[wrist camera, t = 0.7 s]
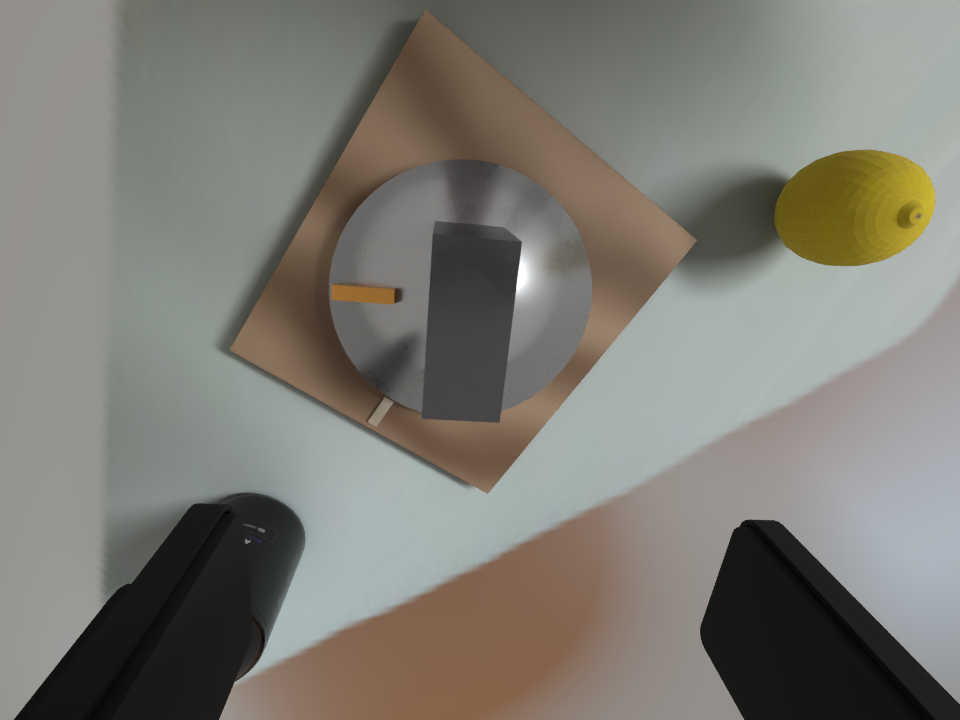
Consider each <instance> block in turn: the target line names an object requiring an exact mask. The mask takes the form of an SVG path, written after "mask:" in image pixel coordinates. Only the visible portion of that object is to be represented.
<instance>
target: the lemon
mask: <svg viewBox="0 0 960 720" xmlns="http://www.w3.org/2000/svg"><path fill="white" fill-rule="evenodd" d="M934 206H935V191H934V188H933V185H932V182H931V179H930V178H929V176H928V175H927V174H926V172H925V171H924V170H923V169H922V168H921V167H920V166H919V165H917V164H915V163H914V162H912V161H910V160H909V159H907V158H905V157H902V156H899V155H896V154H891V153H887V152H882V151H877V150H855V151H844V152H839V153H835V154H832V155H829V156H826V157H824V158H821V159H818V160H816V161H814V162H812V163H811V164H809V165H808V166H806V167H805V168H803V169H801V170H800V171H799V172H798V173H796V174H795V175H794V176H793V177H792V178H791V179H790V180H789V181H788V182H787V184H786V185H785V187H784V188H783V190H782V191H781V193H780V195H779V198H778V200H777V202H776V207H775V212H774V219H775V226H776V229H777V233H778V235H779V237H780V238H781V240H782V241H783V243H784V244H785V245H786V247H788V248H789V249H790V250H792V251H793V252H794V253H796V254H797V255H798V256H800V257H802V258H805V259H807V260H810V261H813V262H816V263H819V264H824V265H833V266H859V265H865V264H870V263H874V262H879V261H882V260H885V259H887V258H889V257H891V256H893V255H896V254H898V253H900V252H901V251H903V250H904V249H905V248H907V247H908V246H910V245H911V244H912V243H913V242H914V241H915V240H916V239H917V238H918V237H919V236H920V235H921V234H922V233H923V231H924V230H925V228H926V227H927V225H928V224H929V221H930V219H931V217H932V214H933V211H934Z"/></svg>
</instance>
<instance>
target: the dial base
mask: <svg viewBox="0 0 960 720" xmlns="http://www.w3.org/2000/svg"><path fill="white" fill-rule="evenodd" d="M453 159H465V160H479V161H484V162H490V163H495V164H498V165H501V166H504V167H507V168H510V169H512V170H514V171H516V172H518V173H520V174H523V175H525V176H527V177H528V178H530V179H531V180H533V181H534V182H536V183H537V184H539V185H540V186H542V187H543V188H544V189H545V190H546V191H548V192H549V193H550V194H551V195H552V196H553V197H554V198H555V199H556V200H557V201H558V202H559V203H560V204H561V206H562V207H563V208H564V209H565V211H566V212H567V213H568V214H569V216H570V218H571V219H572V221H573V222H574V224H575V226H576V227H577V229H578V231H579V233H580V236H581V238H582V240H583V242H584V245H585V248H586V252H587V255H588V259H589V263H590V270H591V276H592V299H591V307H590V313H589V317H588V321H587V325H586V328H585V331H584V334H583V336H582V339H581V341H580V343H579V345H578V347H577V349H576V351H575V353H574V354H573V356H572V358H571V359H570V360H569V362H568V363H567V365H566V366H565V367H564V369H563V370H562V371H561V372H560V373H559V374H558V375H557V376H556V378H555V379H554V380H553V381H552V382H550V383H549V384H548V385H547V386H546V387H545V388H544V389H542V390H541V391H540V392H538V393H537V394H535V395H534V396H532V397H531V398H529V399H528V400H526V401H524V402H522V403H520V404H518V405H516V406H514V407H512V408H509V409H506V410H504V411H501V416H500V423H492V422H473V421H453V420H434V419H422V412H419V411H416V410H414V409H411V408H408V407H406V406H404V405H402V404H400V403H398V402H396V401H394V400H392V399H391V398H389V397H388V396H386V395H385V394H383V393H382V392H380V391H379V390H378V389H377V388H376V387H374V386H373V385H372V384H371V383H370V382H369V381H367V379H366V378H365V377H364V376H363V375H362V374H361V373H360V372H359V371H358V370H357V368H356V367H355V366H354V364H353V363H352V361H351V360H350V358H349V357H348V355H347V354H346V352H345V350H344V348H343V346H342V344H341V342H340V340H339V337H338V335H337V332H336V329H335V326H334V323H333V319H332V314H331V310H330V300H329V277H330V269H331V264H332V259H333V255H334V252H335V249H336V246H337V243H338V240H339V238H340V236H341V234H342V232H343V230H344V228H345V226H346V224H347V222H348V221H349V220H350V218H351V217H352V215H353V214H354V212H355V211H356V210H357V208H358V207H359V206H360V205H361V204H362V203H363V202H364V201H365V200H366V199H367V197H368V196H369V195H370V194H371V193H373V192H374V191H375V190H376V189H378V188H379V187H380V186H381V185H383V184H384V183H385V182H387V181H389V180H390V179H392V178H394V177H395V176H397V175H399V174H401V173H403V172H405V171H408V170H410V169H412V168H415V167H417V166H420V165H424V164H428V163H432V162H436V161H444V160H453ZM696 241H697V239H695V238H694V237H693V236H692V235H691V234H690V233H688V232H687V231H686V230H685V229H684V228H682V227H681V226H680V225H679V224H678V223H677V222H675V221H674V220H673V219H672V218H671V217H669V216H668V215H667V214H666V213H665V212H664V211H662V210H661V209H660V208H659V207H658V206H657V205H655V204H654V203H653V202H652V201H651V200H649V199H648V198H647V197H646V196H645V195H644V194H642V193H641V192H640V191H639V190H638V189H636V188H635V187H634V186H633V185H632V184H631V183H629V182H628V181H627V180H626V179H625V178H624V177H622V176H621V175H620V174H619V173H618V172H616V171H615V170H614V169H613V168H612V167H611V166H609V165H608V164H607V163H606V162H605V161H603V160H602V159H601V158H600V157H599V156H598V155H596V154H595V153H594V152H593V151H592V150H591V149H589V148H588V147H587V146H586V145H585V144H583V143H582V142H581V141H580V140H579V139H578V138H576V137H575V136H574V135H573V134H572V133H570V132H569V131H568V130H567V129H566V128H565V127H563V126H562V125H561V124H560V123H559V122H558V121H556V120H555V119H554V118H553V117H552V116H550V115H549V114H548V113H547V112H546V111H545V110H543V109H542V108H541V107H540V106H539V105H537V104H536V103H535V102H534V101H533V100H532V99H530V98H529V97H528V96H527V95H526V94H524V93H523V92H522V91H521V90H520V89H519V88H517V87H516V86H515V85H514V84H513V83H512V82H510V81H509V80H508V79H507V78H506V77H504V76H503V75H502V74H501V73H500V72H499V71H497V70H496V69H495V68H494V67H493V66H491V65H490V64H489V63H488V62H487V61H486V60H484V59H483V58H482V57H481V56H480V55H479V54H477V53H476V52H475V51H474V50H473V49H471V48H470V47H469V46H468V45H467V44H466V43H464V42H463V41H462V40H461V39H460V38H458V37H457V36H456V35H455V34H454V33H453V32H451V31H450V30H449V29H448V28H447V27H446V26H444V25H443V24H442V23H441V22H440V21H438V20H437V19H436V18H435V17H434V16H433V15H431V14H430V13H429V12H428V11H427V10H424V12H423V14H422V16H421V17H420V19H419V21H418V23H417V24H416V26H415V28H414V30H413V31H412V33H411V35H410V37H409V38H408V40H407V42H406V43H405V45H404V47H403V49H402V50H401V52H400V54H399V56H398V57H397V59H396V61H395V63H394V64H393V66H392V68H391V70H390V71H389V73H388V75H387V77H386V78H385V80H384V82H383V84H382V85H381V87H380V89H379V91H378V92H377V94H376V96H375V97H374V99H373V101H372V103H371V104H370V106H369V108H368V110H367V111H366V113H365V115H364V117H363V118H362V120H361V122H360V124H359V125H358V127H357V129H356V131H355V132H354V134H353V136H352V138H351V139H350V141H349V143H348V144H347V146H346V148H345V150H344V151H343V153H342V155H341V157H340V158H339V160H338V162H337V164H336V165H335V167H334V169H333V171H332V172H331V174H330V176H329V178H328V179H327V181H326V183H325V185H324V186H323V188H322V190H321V191H320V193H319V195H318V197H317V198H316V200H315V202H314V204H313V205H312V207H311V209H310V211H309V212H308V214H307V216H306V218H305V219H304V221H303V223H302V225H301V226H300V228H299V230H298V232H297V233H296V235H295V237H294V238H293V240H292V242H291V244H290V245H289V247H288V249H287V251H286V252H285V254H284V256H283V258H282V259H281V261H280V263H279V265H278V266H277V268H276V270H275V272H274V273H273V275H272V277H271V279H270V280H269V282H268V284H267V286H266V287H265V289H264V291H263V292H262V294H261V296H260V298H259V299H258V301H257V303H256V305H255V306H254V308H253V310H252V312H251V313H250V315H249V317H248V319H247V320H246V322H245V324H244V326H243V327H242V329H241V331H240V333H239V334H238V336H237V338H236V339H235V341H234V343H233V345H232V346H231V348H230V351H232V352H233V353H235V354H237V355H239V356H241V357H242V358H244V359H246V360H248V361H250V362H251V363H253V364H255V365H257V366H259V367H260V368H262V369H264V370H266V371H268V372H269V373H271V374H273V375H275V376H277V377H278V378H280V379H282V380H284V381H286V382H287V383H289V384H291V385H293V386H295V387H296V388H298V389H300V390H302V391H304V392H305V393H307V394H309V395H311V396H313V397H314V398H316V399H318V400H320V401H322V402H323V403H325V404H327V405H329V406H331V407H332V408H334V409H336V410H338V411H340V412H341V413H343V414H345V415H347V416H349V417H350V418H352V419H354V420H356V421H358V422H359V423H361V424H363V425H365V426H367V427H368V428H370V429H372V430H374V431H376V432H377V433H379V434H381V435H383V436H385V437H386V438H388V439H390V440H392V441H394V442H395V443H397V444H399V445H401V446H403V447H404V448H406V449H408V450H410V451H412V452H413V453H415V454H417V455H419V456H421V457H422V458H424V459H426V460H428V461H430V462H431V463H433V464H435V465H437V466H439V467H440V468H442V469H444V470H446V471H448V472H449V473H451V474H453V475H455V476H457V477H458V478H460V479H462V480H464V481H466V482H467V483H469V484H471V485H473V486H475V487H476V488H478V489H480V490H482V491H484V492H485V493H487V494H488V493H489V492H490V490H491V489H492V488H493V487H494V486H495V484H496V483H497V482H498V481H499V480H500V478H501V477H502V476H503V475H504V473H505V472H506V471H507V470H508V469H509V467H510V466H511V465H512V464H513V463H514V461H515V460H516V459H517V458H518V457H519V455H520V454H521V453H522V452H523V451H524V449H525V448H526V447H527V446H528V444H529V443H530V442H531V441H532V440H533V438H534V437H535V436H536V435H537V434H538V432H539V431H540V430H541V429H542V428H543V426H544V425H545V424H546V423H547V422H548V420H549V419H550V418H551V417H552V415H553V414H554V413H555V412H556V411H557V409H558V408H559V407H560V406H561V405H562V403H563V402H564V401H565V400H566V399H567V397H568V396H569V395H570V394H571V392H572V391H573V390H574V389H575V388H576V386H577V385H578V384H579V383H580V382H581V380H582V379H583V378H584V377H585V376H586V374H587V373H588V372H589V371H590V370H591V368H592V367H593V366H594V365H595V363H596V362H597V361H598V360H599V359H600V357H601V356H602V355H603V354H604V353H605V351H606V350H607V349H608V348H609V347H610V345H611V344H612V343H613V342H614V341H615V339H616V338H617V337H618V336H619V334H620V333H621V332H622V331H623V330H624V328H625V327H626V326H627V325H628V324H629V322H630V321H631V320H632V319H633V318H634V316H635V315H636V314H637V313H638V311H639V310H640V309H641V308H642V307H643V305H644V304H645V303H646V302H647V301H648V299H649V298H650V297H651V296H652V295H653V293H654V292H655V291H656V290H657V289H658V287H659V286H660V285H661V284H662V282H663V281H664V280H665V279H666V278H667V276H668V275H669V274H670V273H671V272H672V270H673V269H674V268H675V267H676V266H677V264H678V263H679V262H680V261H681V259H682V258H683V257H684V256H685V255H686V253H687V252H688V251H689V250H690V249H691V247H692V246H693V245H694V244H695V243H696Z"/></svg>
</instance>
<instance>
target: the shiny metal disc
mask: <svg viewBox="0 0 960 720" xmlns="http://www.w3.org/2000/svg"><path fill="white" fill-rule="evenodd" d="M591 299H592V276H591V270H590V263H589V259H588V255H587V252H586V248H585V245H584V242H583V240H582V238H581V236H580V233H579V231H578V229H577V227H576V226H575V224H574V222H573V221H572V219H571V218H570V216H569V214H568V213H567V212H566V211H565V209H564V208H563V207H562V206H561V204H560V203H559V202H558V201H557V200H556V199H555V198H554V197H553V196H552V195H551V194H550V193H549V192H548V191H546V190H545V189H544V188H543V187H542V186H540V185H539V184H537V183H536V182H534V181H533V180H531V179H530V178H528V177H527V176H525V175H523V174H520V173H518V172H516V171H514V170H512V169H510V168H507V167H504V166H501V165H498V164H495V163H490V162H484V161H479V160H465V159H453V160H444V161H436V162H432V163H428V164H424V165H420V166H417V167H415V168H412V169H410V170H408V171H405V172H403V173H401V174H399V175H397V176H395V177H394V178H392V179H390V180H389V181H387V182H385V183H384V184H383V185H381V186H380V187H379V188H378V189H376V190H375V191H374V192H373V193H371V194H370V195H369V196H368V197H367V199H366V200H365V201H364V202H363V203H362V204H361V205H360V206H359V207H358V208H357V210H356V211H355V212H354V214H353V215H352V217H351V218H350V220H349V221H348V222H347V224H346V226H345V228H344V230H343V232H342V234H341V236H340V238H339V240H338V243H337V246H336V249H335V252H334V255H333V259H332V264H331V269H330V277H329V300H330V310H331V314H332V319H333V323H334V326H335V329H336V332H337V335H338V337H339V340H340V342H341V344H342V346H343V348H344V350H345V352H346V354H347V355H348V357H349V358H350V360H351V361H352V363H353V364H354V366H355V367H356V368H357V370H358V371H359V372H360V373H361V374H362V375H363V376H364V377H365V378H366V379H367V381H369V382H370V383H371V384H372V385H373V386H374V387H376V388H377V389H378V390H379V391H380V392H382V393H383V394H385V395H386V396H388V397H389V398H391V399H392V400H394V401H396V402H398V403H400V404H402V405H404V406H406V407H408V408H411V409H414V410H416V411H419V412H422V419H434V420H453V421H473V422H492V423H500V416H501V411H504V410H506V409H509V408H512V407H514V406H516V405H518V404H520V403H522V402H524V401H526V400H528V399H529V398H531V397H532V396H534V395H535V394H537V393H538V392H540V391H541V390H542V389H544V388H545V387H546V386H547V385H548V384H549V383H550V382H552V381H553V380H554V379H555V378H556V376H557V375H558V374H559V373H560V372H561V371H562V370H563V369H564V367H565V366H566V365H567V363H568V362H569V360H570V359H571V358H572V356H573V354H574V353H575V351H576V349H577V347H578V345H579V343H580V341H581V339H582V336H583V334H584V331H585V328H586V325H587V321H588V317H589V313H590V307H591Z"/></svg>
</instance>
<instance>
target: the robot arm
mask: <svg viewBox="0 0 960 720" xmlns="http://www.w3.org/2000/svg"><path fill="white" fill-rule="evenodd" d="M252 631H253V619H252V609H251V598H250V587H249V577H248V566H247V556H246V545H245V534H244V524H243V517H242V515H241V514H240V513H233V508H232V507H231V505H228V504H194V505H192V506H191V507H190V508H189V510H188V511H187V512H186V513H185V515H184V516H183V517H182V519H181V520H180V521H179V523H178V524H177V525H176V527H175V528H174V529H173V530H172V532H171V533H170V534H169V536H168V537H167V538H166V540H165V541H164V542H163V544H162V545H161V546H160V547H159V549H158V550H157V551H156V553H155V554H154V555H153V557H152V558H151V559H150V561H149V562H148V563H147V564H146V566H145V567H144V568H143V570H142V571H141V572H140V574H139V575H138V576H137V578H136V579H135V580H134V581H133V583H132V584H126V585H124V586H123V587H121V588H119V589H118V590H117V591H116V592H115V593H114V594H113V595H112V596H111V597H110V599H109V600H108V601H107V602H106V604H105V605H104V606H103V608H102V609H101V610H100V611H99V613H98V614H97V615H96V616H95V618H94V619H93V620H92V621H91V623H90V624H89V625H88V627H87V628H86V629H85V630H84V632H83V633H82V634H81V635H80V637H79V638H78V639H77V640H76V642H75V643H74V644H73V646H72V647H71V648H70V649H69V651H68V652H67V653H66V654H65V656H64V657H63V658H62V659H61V661H60V662H59V663H58V665H57V666H56V667H55V668H54V670H53V671H52V672H51V673H50V675H49V676H48V677H47V678H46V680H45V681H44V682H43V684H42V685H41V686H40V687H39V689H38V690H37V691H36V692H35V694H34V695H33V696H32V698H31V699H30V700H29V701H28V702H27V704H26V705H25V707H24V708H23V709H22V710H21V711H20V713H19V714H18V715H17V716H16V718H15V719H14V720H219V718H220V716H221V713H222V711H223V709H224V706H225V704H226V701H227V699H228V696H229V694H230V692H231V689H232V687H233V684H234V682H235V679H236V677H237V674H238V672H239V670H240V667H241V665H242V662H243V660H244V657H245V655H246V653H247V650H248V648H249V645H250V641H251V637H252ZM700 634H701V640H702V644H703V646H704V648H705V650H706V652H707V654H708V656H709V657H710V659H711V661H712V663H713V664H714V666H715V668H716V670H717V671H718V673H719V675H720V677H721V679H722V680H723V682H724V684H725V686H726V688H727V689H728V691H729V693H730V695H731V696H732V698H733V700H734V702H735V704H736V705H737V707H738V709H739V711H740V712H741V714H742V716H743V718H744V720H960V704H959V703H958V702H957V701H956V700H955V699H954V698H953V697H952V696H951V695H950V694H949V693H948V692H947V691H946V690H945V689H944V688H943V687H942V686H941V685H940V684H939V683H938V682H937V681H936V680H935V679H934V678H933V677H932V676H931V675H930V674H929V673H928V672H927V671H926V670H925V669H924V668H923V667H922V666H921V665H920V664H919V663H918V662H917V661H916V660H915V659H914V658H913V657H912V656H911V655H910V654H909V653H908V652H907V650H905V648H904V647H903V646H902V645H901V644H900V643H899V642H898V641H897V640H896V639H895V638H894V637H893V636H892V635H891V634H890V633H888V631H887V630H886V629H885V628H884V627H883V626H882V625H881V624H880V623H879V622H878V621H877V620H876V619H875V618H874V617H873V616H872V615H871V614H870V613H869V612H868V611H867V610H866V609H865V608H864V607H863V606H862V605H861V604H860V603H859V602H858V601H857V600H856V599H855V598H854V597H853V596H852V595H851V594H850V593H849V592H848V591H847V590H846V589H845V588H844V587H843V586H842V585H841V584H840V583H839V582H838V581H837V580H836V579H835V577H833V575H832V574H831V573H830V572H828V570H827V569H826V568H825V567H824V566H823V565H822V564H821V563H820V562H819V561H818V560H817V559H816V558H815V557H814V556H813V555H812V554H811V553H810V552H809V551H808V550H807V549H806V548H805V547H804V546H803V545H802V544H801V543H800V542H799V541H798V540H797V539H796V538H795V537H794V536H793V535H792V534H791V533H790V532H789V531H788V530H787V529H786V528H785V527H784V526H783V525H782V524H781V523H779V522H777V521H774V520H745V521H743V522H742V523H741V525H740V527H737V528H736V529H734V531H733V533H732V536H731V539H730V542H729V545H728V548H727V551H726V553H725V557H724V560H723V562H722V565H721V568H720V571H719V574H718V577H717V580H716V583H715V586H714V589H713V591H712V595H711V597H710V600H709V603H708V606H707V609H706V613H705V615H704V618H703V621H702V624H701V628H700Z"/></svg>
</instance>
